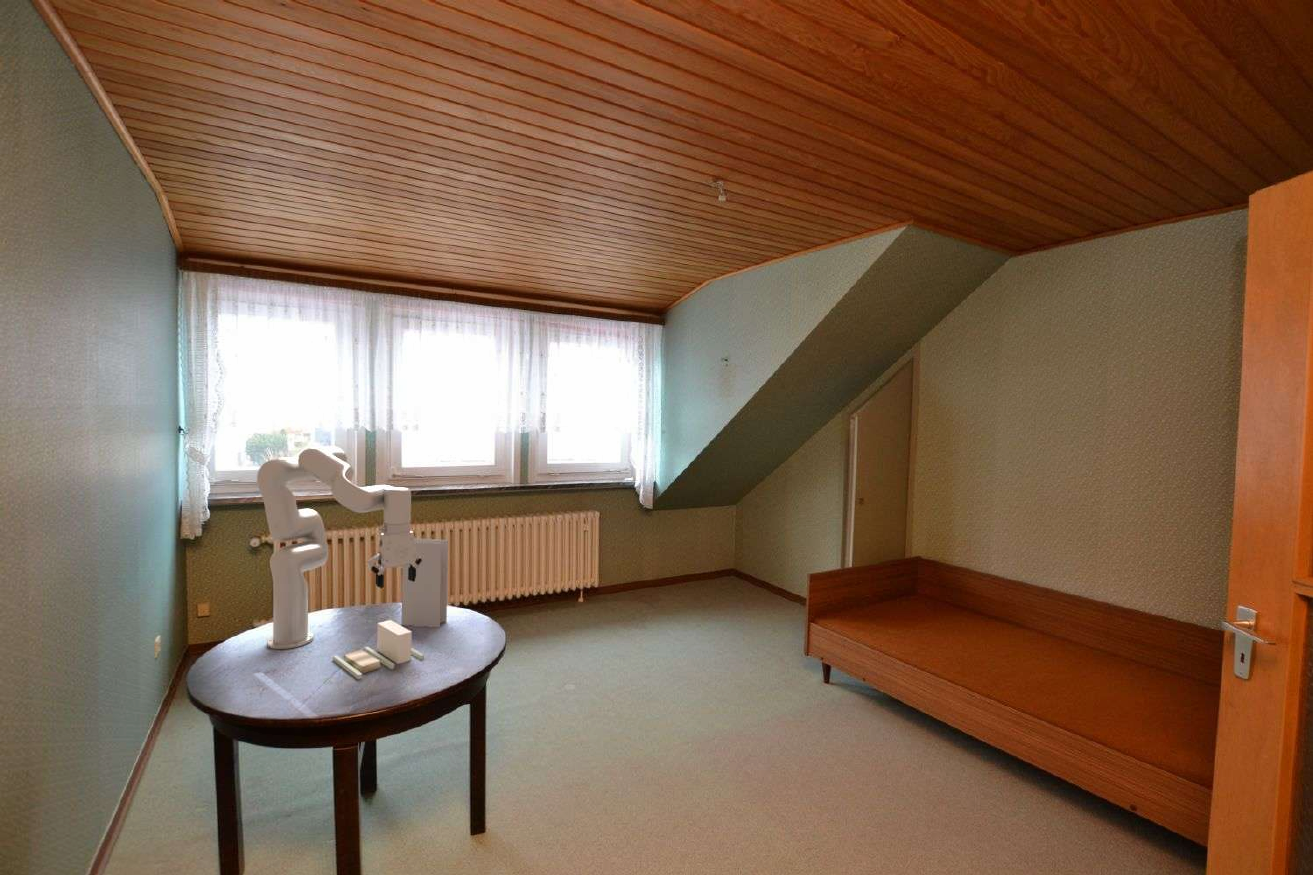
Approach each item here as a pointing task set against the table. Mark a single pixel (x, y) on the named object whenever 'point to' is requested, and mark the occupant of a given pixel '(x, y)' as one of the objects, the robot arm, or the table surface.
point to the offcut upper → (362, 661)
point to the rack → (375, 655)
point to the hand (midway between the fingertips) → (396, 583)
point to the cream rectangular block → (394, 641)
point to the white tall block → (426, 586)
